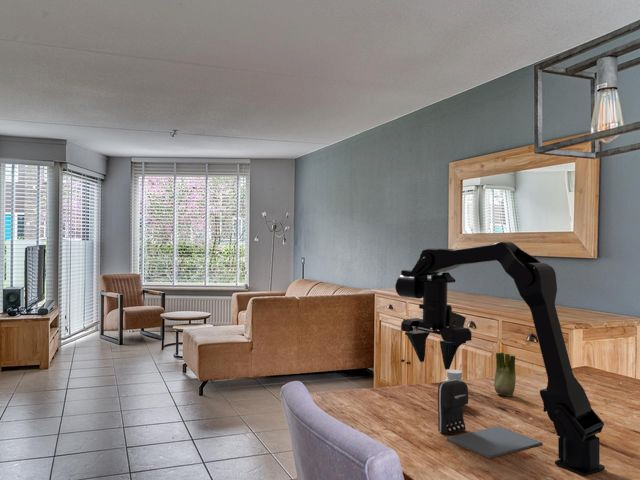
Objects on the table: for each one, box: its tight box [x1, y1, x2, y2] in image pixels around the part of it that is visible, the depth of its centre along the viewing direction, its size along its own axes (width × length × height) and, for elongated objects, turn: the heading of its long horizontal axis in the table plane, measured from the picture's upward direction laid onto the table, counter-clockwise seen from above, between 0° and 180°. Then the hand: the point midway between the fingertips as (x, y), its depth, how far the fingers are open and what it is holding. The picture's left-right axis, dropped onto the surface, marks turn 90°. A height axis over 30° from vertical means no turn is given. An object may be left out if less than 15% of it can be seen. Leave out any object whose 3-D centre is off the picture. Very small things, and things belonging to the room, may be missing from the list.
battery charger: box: [437, 380, 469, 435], centre depth 124 cm, size 7×4×11 cm, turn 124°
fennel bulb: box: [493, 352, 517, 397], centre depth 154 cm, size 6×5×12 cm
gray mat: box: [446, 425, 543, 459], centre depth 117 cm, size 12×16×1 cm
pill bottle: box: [444, 369, 466, 383], centre depth 145 cm, size 5×5×9 cm
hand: (434, 365), depth 130 cm, fingers open, 8 cm apart
